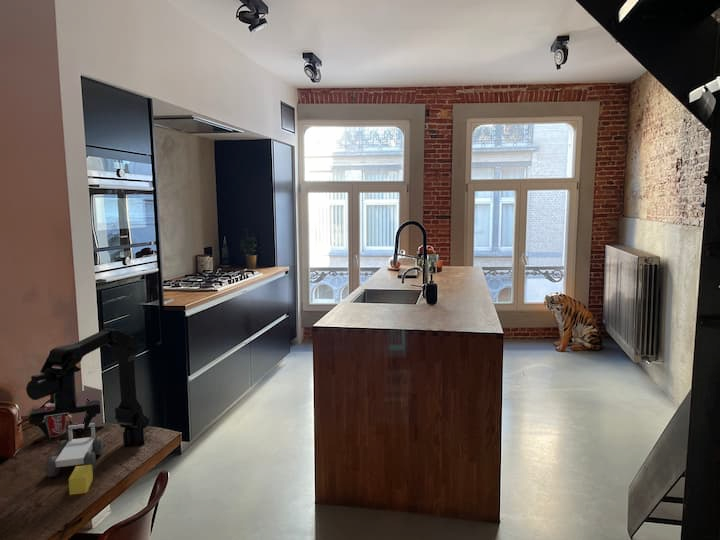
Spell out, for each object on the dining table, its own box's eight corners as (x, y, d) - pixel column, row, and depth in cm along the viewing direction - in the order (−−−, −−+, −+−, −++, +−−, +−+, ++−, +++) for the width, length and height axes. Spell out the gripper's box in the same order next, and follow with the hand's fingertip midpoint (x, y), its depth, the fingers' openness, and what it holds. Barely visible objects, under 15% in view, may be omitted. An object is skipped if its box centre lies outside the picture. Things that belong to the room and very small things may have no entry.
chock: (93, 479, 158) (92, 464, 158) (86, 493, 151) (85, 477, 150) (76, 481, 157) (75, 466, 157) (69, 495, 150) (68, 479, 149)
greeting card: (106, 426, 198) (103, 389, 197) (87, 433, 192) (85, 395, 190) (87, 421, 204) (85, 384, 202) (69, 427, 197) (67, 390, 196)
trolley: (64, 454, 175) (62, 425, 174) (103, 449, 178) (102, 421, 177) (47, 480, 158) (45, 448, 157) (91, 475, 161) (89, 443, 160)
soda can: (70, 430, 194) (68, 400, 193) (58, 438, 187) (56, 407, 186) (53, 430, 195) (51, 399, 194) (40, 438, 188) (38, 406, 187)
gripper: (99, 377, 166) (101, 424, 167) (31, 386, 157) (34, 434, 159) (99, 387, 156) (101, 436, 157) (26, 397, 147) (30, 449, 149)
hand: (67, 438), depth 156 cm, fingers open, 9 cm apart
